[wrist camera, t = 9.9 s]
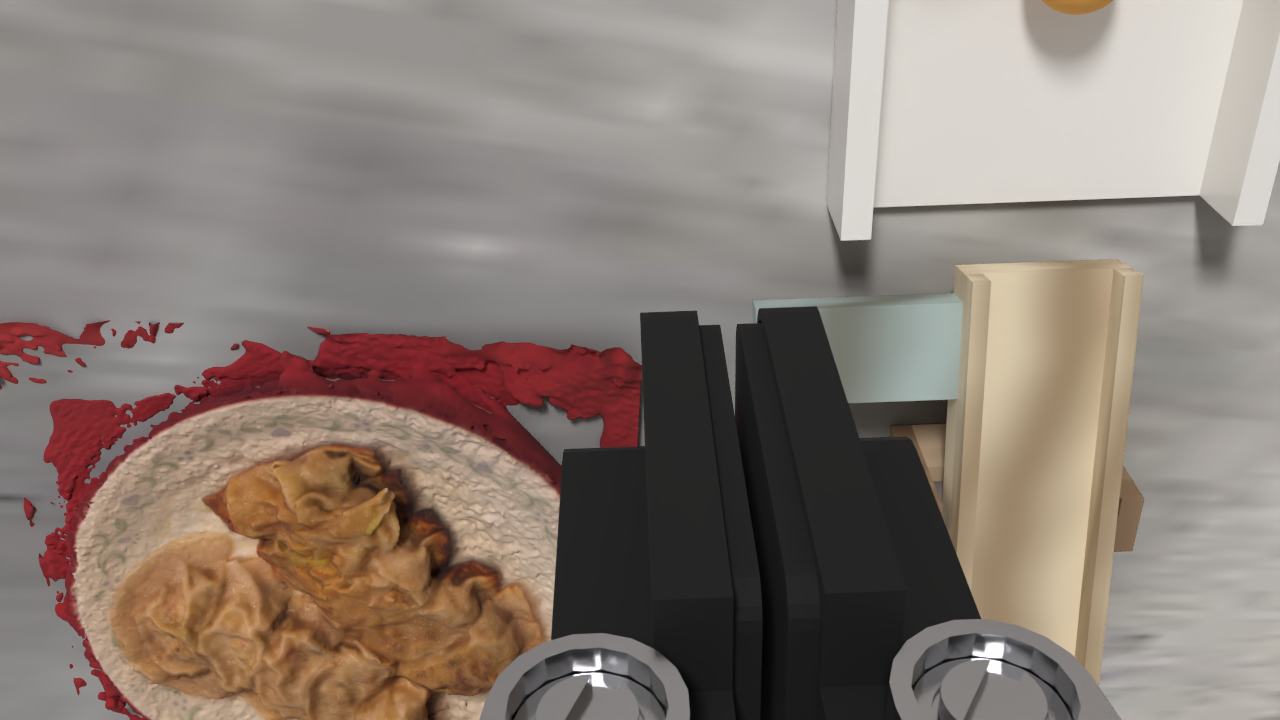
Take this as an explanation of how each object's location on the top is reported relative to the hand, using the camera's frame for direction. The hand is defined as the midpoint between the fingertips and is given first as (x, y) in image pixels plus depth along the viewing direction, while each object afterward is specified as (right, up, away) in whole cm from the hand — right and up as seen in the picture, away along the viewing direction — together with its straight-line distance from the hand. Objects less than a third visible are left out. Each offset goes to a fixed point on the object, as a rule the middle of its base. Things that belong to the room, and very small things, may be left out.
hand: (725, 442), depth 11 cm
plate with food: (-14, -9, +40) cm, 43 cm away
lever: (+10, -5, +32) cm, 34 cm away
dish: (+13, +12, +27) cm, 32 cm away
